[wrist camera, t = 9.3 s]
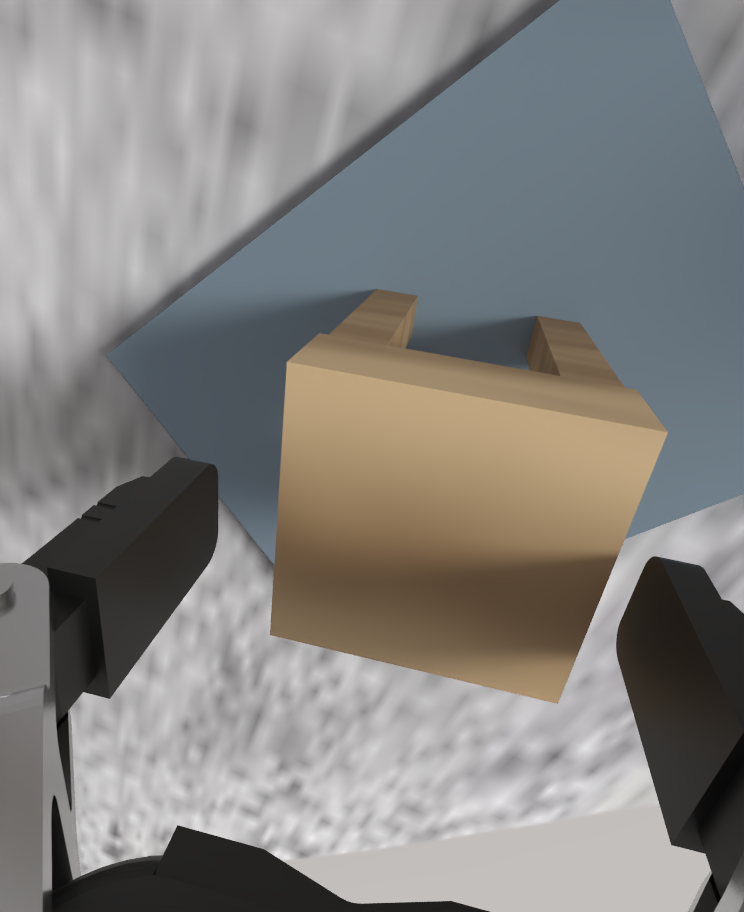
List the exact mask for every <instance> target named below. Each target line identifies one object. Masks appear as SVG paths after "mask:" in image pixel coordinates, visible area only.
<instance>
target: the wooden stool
mask: <svg viewBox="0 0 744 912" xmlns="http://www.w3.org/2000/svg"><path fill="white" fill-rule="evenodd" d="M417 299H418V296H417V295H411V294H405V293H399V292H393V291H387V290H381V289H377V290H376V291H375V292H373V293H372V294H371V295H370V296H369V297H368V298H367V299H366V300H365V301H364V302H363V303H362V304H361V305H360V306H359V307H358V308H357V309H355V310H354V311H353V312H352V313H351V314H350V315H349V316H348V317H347V318H346V319H345V320H344V321H343V322H342V323H341V324H340V325H338V326H337V327H336V328H335V329H334V330H333V331H332V332H331V333H330V334H329V335H327V334H321V333H319V334H318V335H317V336H316V337H315V338H313V339H312V340H311V341H310V342H309V343H308V344H307V345H306V346H304V347H303V348H302V349H301V350H300V351H299V352H298V353H296V354H295V355H294V356H293V357H292V358H291V359H290V360H288V361H287V369H286V385H285V401H284V417H283V434H282V450H281V466H280V482H279V499H278V515H277V531H276V547H275V564H274V580H273V596H272V612H271V629H270V635H273V636H277V637H281V638H285V639H290V640H294V641H298V642H302V643H306V644H310V645H315V646H319V647H323V648H327V649H331V650H336V651H340V652H344V653H348V654H352V655H356V656H361V657H365V658H369V659H373V660H377V661H382V662H386V663H390V664H394V665H398V666H402V667H407V668H411V669H415V670H419V671H423V672H427V673H432V674H436V675H440V676H444V677H448V678H453V679H457V680H461V681H465V682H469V683H473V684H478V685H482V686H486V687H490V688H494V689H499V690H503V691H507V692H511V693H515V694H519V695H524V696H528V697H532V698H536V699H540V700H545V701H549V702H553V703H557V704H558V702H559V699H560V697H561V694H562V692H563V689H564V687H565V684H566V682H567V680H568V677H569V675H570V672H571V670H572V667H573V665H574V662H575V660H576V657H577V655H578V652H579V650H580V648H581V645H582V643H583V640H584V638H585V635H586V633H587V630H588V628H589V625H590V623H591V621H592V618H593V616H594V613H595V611H596V608H597V606H598V603H599V601H600V598H601V596H602V594H603V591H604V589H605V586H606V584H607V581H608V579H609V576H610V574H611V571H612V569H613V567H614V564H615V562H616V559H617V557H618V554H619V552H620V549H621V547H622V544H623V542H624V540H625V537H626V535H627V532H628V530H629V527H630V525H631V522H632V520H633V517H634V515H635V512H636V510H637V508H638V505H639V503H640V500H641V498H642V495H643V493H644V490H645V488H646V485H647V483H648V481H649V478H650V476H651V473H652V471H653V468H654V466H655V463H656V461H657V458H658V456H659V454H660V451H661V449H662V446H663V444H664V441H665V439H666V436H667V434H668V432H667V430H666V429H665V427H664V426H663V425H662V423H661V422H660V421H659V419H658V418H657V417H656V415H655V414H654V413H653V411H652V410H651V408H650V407H649V406H648V404H647V403H646V402H645V400H644V399H643V398H642V396H641V395H640V394H639V392H638V391H637V390H636V389H630V388H625V387H624V386H623V384H622V383H621V381H620V380H619V378H618V377H617V375H616V374H615V372H614V371H613V370H612V368H611V367H610V365H609V364H608V362H607V361H606V359H605V358H604V356H603V355H602V354H601V352H600V351H599V349H598V348H597V346H596V345H595V343H594V342H593V341H592V339H591V338H590V336H589V335H588V333H587V332H586V330H585V329H584V327H583V326H582V325H581V323H578V322H572V321H566V320H560V319H554V318H548V317H542V316H537V318H536V322H535V326H534V329H533V333H532V337H531V341H530V345H529V349H528V352H527V356H526V358H527V362H528V366H529V370H530V371H529V370H523V369H518V368H512V367H507V366H501V365H495V364H490V363H484V362H478V361H473V360H467V359H462V358H456V357H450V356H445V355H439V354H434V353H428V352H422V351H417V350H411V349H406V346H407V344H408V342H409V340H410V338H411V336H412V330H413V324H414V318H415V311H416V305H417Z"/></svg>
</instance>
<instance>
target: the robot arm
mask: <svg viewBox="0 0 744 912" xmlns="http://www.w3.org/2000/svg"><path fill="white" fill-rule="evenodd" d="M217 537H218V471H217V468H216V466H215V465H213V464H209V463H204V462H199V461H194V460H189V459H185V458H180V457H174V458H172V459H171V460H170V461H169V462H167V463H166V464H165V465H164V466H163V467H162V468H160V469H159V470H158V471H157V472H156V473H155V474H154V475H152V476H151V477H150V478H149V477H144V476H142V477H140V478H137V479H135V480H132V481H130V482H127V483H125V484H123V485H120V486H118V487H116V488H115V489H113V490H112V491H111V492H110V493H108V494H107V495H106V496H105V497H103V498H102V499H101V500H100V501H99V502H98V504H97V506H95V505H94V506H92V507H91V508H90V509H89V510H87V511H86V512H85V513H84V514H83V515H82V518H81V519H79V518H78V519H76V520H75V521H74V522H73V523H71V524H70V525H69V526H68V527H67V528H65V529H64V530H63V531H62V532H60V533H59V534H58V535H57V536H55V537H54V538H53V539H52V540H51V541H49V542H48V543H47V544H46V545H44V546H43V547H42V548H41V549H39V550H38V551H37V552H36V553H35V554H33V555H32V556H31V557H30V558H28V559H27V560H26V561H25V562H23V563H22V564H18V563H1V564H0V912H489V911H485V910H481V909H478V908H474V907H470V906H467V905H463V904H460V903H456V902H452V901H442V902H408V903H407V902H406V903H373V904H357V903H351V902H348V901H346V900H344V899H342V898H340V897H338V896H337V895H335V894H334V893H332V892H331V891H329V890H327V889H326V888H324V887H323V886H321V885H319V884H318V883H316V882H315V881H313V880H312V879H310V878H308V877H307V876H305V875H303V874H302V873H300V872H299V871H297V870H296V869H294V868H293V867H291V866H289V865H287V864H286V863H285V862H283V861H281V860H280V859H278V858H277V857H275V856H274V855H272V854H270V853H269V852H267V851H266V850H264V849H261V848H257V847H254V846H250V845H247V844H243V843H239V842H236V841H232V840H228V839H225V838H221V837H218V836H214V835H210V834H207V833H203V832H200V831H196V830H192V829H189V828H185V827H181V826H178V825H177V828H176V830H175V832H174V834H173V836H172V838H171V840H170V842H169V844H168V846H167V848H166V850H165V853H164V855H161V856H148V857H142V858H136V859H129V860H125V861H122V862H118V863H115V864H111V865H108V866H105V867H102V868H99V869H97V870H94V871H92V872H90V873H87V874H85V875H82V876H81V871H80V861H79V853H78V843H77V832H76V813H75V791H74V769H73V747H72V725H71V715H70V708H71V706H72V705H73V704H74V703H75V701H76V700H77V699H78V698H79V696H80V695H81V694H82V693H83V692H85V693H89V694H93V695H97V696H101V697H105V698H109V699H110V698H111V696H112V695H113V694H114V692H115V691H116V690H117V688H118V687H119V685H120V684H121V683H122V681H123V680H124V679H125V677H126V676H127V675H128V673H129V672H130V670H131V669H132V668H133V666H134V665H135V664H136V662H137V661H138V660H139V658H140V657H141V655H142V654H143V653H144V651H145V650H146V649H147V647H148V646H149V645H150V643H151V642H152V640H153V639H154V638H155V636H156V635H157V634H158V632H159V631H160V629H161V628H162V627H163V625H164V624H165V623H166V621H167V620H168V619H169V617H170V616H171V614H172V613H173V612H174V610H175V609H176V608H177V606H178V605H179V604H180V602H181V601H182V599H183V598H184V597H185V595H186V594H187V593H188V591H189V590H190V589H191V587H192V586H193V584H194V583H195V582H196V580H197V579H198V578H199V576H200V575H201V574H202V572H203V571H204V569H205V568H206V567H207V565H208V564H209V562H210V560H211V558H212V556H213V553H214V550H215V547H216V543H217ZM616 649H617V657H618V661H619V665H620V668H621V672H622V675H623V679H624V682H625V686H626V689H627V693H628V696H629V700H630V703H631V706H632V710H633V713H634V717H635V720H636V724H637V727H638V731H639V734H640V738H641V741H642V745H643V748H644V752H645V755H646V759H647V762H648V766H649V769H650V773H651V776H652V779H653V783H654V786H655V790H656V793H657V797H658V800H659V804H660V807H661V811H662V814H663V818H664V821H665V825H666V828H667V832H668V835H669V839H670V842H671V845H674V846H678V847H682V848H686V849H689V850H694V851H697V852H701V853H705V854H706V856H707V859H708V862H709V865H710V868H711V872H710V873H709V874H708V876H707V877H706V878H705V880H704V881H703V883H702V884H701V886H700V889H699V890H698V892H697V894H696V897H695V899H694V901H693V903H692V905H691V907H690V909H689V911H688V912H744V614H743V613H742V612H741V611H740V610H739V609H738V608H737V607H736V606H735V605H734V604H732V603H731V602H730V601H727V600H722V599H721V597H720V595H719V594H718V592H717V590H716V588H715V587H714V585H713V583H712V582H711V580H710V578H709V576H708V575H707V573H706V571H705V570H704V568H702V567H701V566H699V565H695V564H690V563H685V562H680V561H675V560H670V559H665V558H661V557H652V558H650V559H649V560H648V562H647V563H646V565H645V567H644V569H643V571H642V573H641V576H640V578H639V580H638V582H637V585H636V587H635V589H634V592H633V594H632V596H631V599H630V601H629V603H628V605H627V608H626V610H625V612H624V615H623V617H622V619H621V622H620V625H619V628H618V633H617V642H616Z"/></svg>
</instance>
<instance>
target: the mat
mask: <svg viewBox="0 0 744 912" xmlns="http://www.w3.org/2000/svg"><path fill="white" fill-rule="evenodd" d="M377 289H381V290H387V291H393V292H399V293H405V294H411V295H417V296H418V299H417V305H416V311H415V318H414V324H413V330H412V336H411V338H410V340H409V342H408V344H407V346H406V349H411V350H417V351H422V352H428V353H434V354H439V355H445V356H450V357H456V358H462V359H467V360H473V361H478V362H484V363H490V364H495V365H501V366H507V367H512V368H518V369H523V370H529V366H528V362H527V358H526V356H527V352H528V349H529V345H530V341H531V337H532V333H533V329H534V326H535V322H536V318H537V316H542V317H548V318H554V319H560V320H566V321H572V322H578V323H581V325H582V326H583V327H584V329H585V330H586V332H587V333H588V335H589V336H590V338H591V339H592V341H593V342H594V343H595V345H596V346H597V348H598V349H599V351H600V352H601V354H602V355H603V356H604V358H605V359H606V361H607V362H608V364H609V365H610V367H611V368H612V370H613V371H614V372H615V374H616V375H617V377H618V378H619V380H620V381H621V383H622V384H623V386H624V387H625V388H630V389H636V390H637V391H638V392H639V394H640V395H641V396H642V398H643V399H644V400H645V402H646V403H647V404H648V406H649V407H650V408H651V410H652V411H653V413H654V414H655V415H656V417H657V418H658V419H659V421H660V422H661V423H662V425H663V426H664V427H665V429H666V430H667V432H668V434H667V436H666V439H665V441H664V444H663V446H662V449H661V451H660V454H659V456H658V458H657V461H656V463H655V466H654V468H653V471H652V473H651V476H650V478H649V481H648V483H647V485H646V488H645V490H644V493H643V495H642V498H641V500H640V503H639V505H638V508H637V510H636V512H635V515H634V517H633V520H632V522H631V525H630V527H629V530H628V532H627V535H626V537H625V539H626V538H629V537H632V536H634V535H637V534H639V533H642V532H645V531H647V530H650V529H653V528H655V527H658V526H660V525H663V524H666V523H668V522H671V521H673V520H676V519H679V518H681V517H684V516H687V515H689V514H692V513H694V512H697V511H700V510H702V509H705V508H708V507H710V506H713V505H715V504H718V503H721V502H723V501H726V500H729V499H731V498H734V497H736V496H739V495H742V494H744V187H743V185H742V182H741V179H740V177H739V174H738V172H737V169H736V167H735V164H734V162H733V159H732V157H731V154H730V152H729V149H728V147H727V144H726V141H725V139H724V136H723V134H722V131H721V129H720V126H719V124H718V121H717V119H716V116H715V114H714V111H713V108H712V106H711V103H710V101H709V98H708V96H707V93H706V91H705V88H704V86H703V83H702V81H701V78H700V75H699V73H698V70H697V68H696V65H695V63H694V60H693V58H692V55H691V53H690V50H689V48H688V45H687V42H686V40H685V37H684V35H683V32H682V30H681V27H680V25H679V22H678V20H677V17H676V15H675V12H674V10H673V7H672V4H671V2H670V0H559V1H558V2H557V3H556V4H554V5H553V6H552V7H550V8H549V9H548V10H547V11H545V12H544V13H543V14H541V15H540V16H539V17H538V18H536V19H535V20H534V21H533V22H531V23H530V24H529V25H527V26H526V27H525V28H524V29H522V30H521V31H520V32H518V33H517V34H516V35H515V36H513V37H512V38H511V39H510V40H508V41H507V42H506V43H504V44H503V45H502V46H501V47H499V48H498V49H497V50H496V51H494V52H493V53H492V54H490V55H489V56H488V57H487V58H485V59H484V60H483V61H481V62H480V63H479V64H478V65H476V66H475V67H474V68H473V69H471V70H470V71H469V72H467V73H466V74H465V75H464V76H462V77H461V78H460V79H458V80H457V81H456V82H455V83H453V84H452V85H451V86H450V87H448V88H447V89H446V90H444V91H443V92H442V93H441V94H439V95H438V96H437V97H435V98H434V99H433V100H432V101H430V102H429V103H428V104H427V105H425V106H424V107H423V108H421V109H420V110H419V111H418V112H416V113H415V114H414V115H412V116H411V117H410V118H409V119H407V120H406V121H405V122H404V123H402V124H401V125H400V126H398V127H397V128H396V129H395V130H393V131H392V132H391V133H389V134H388V135H387V136H386V137H384V138H383V139H382V140H381V141H379V142H378V143H377V144H375V145H374V146H373V147H372V148H370V149H369V150H368V151H367V152H365V153H364V154H363V155H361V156H360V157H359V158H358V159H356V160H355V161H354V162H352V163H351V164H350V165H349V166H347V167H346V168H345V169H344V170H342V171H341V172H340V173H338V174H337V175H336V176H335V177H333V178H332V179H331V180H329V181H328V182H327V183H326V184H324V185H323V186H322V187H321V188H319V189H318V190H317V191H315V192H314V193H313V194H312V195H310V196H309V197H308V198H306V199H305V200H304V201H303V202H301V203H300V204H299V205H298V206H296V207H295V208H294V209H292V210H291V211H290V212H289V213H287V214H286V215H285V216H283V217H282V218H281V219H280V220H278V221H277V222H276V223H275V224H273V225H272V226H271V227H269V228H268V229H267V230H266V231H264V232H263V233H262V234H260V235H259V236H258V237H257V238H255V239H254V240H253V241H252V242H250V243H249V244H248V245H246V246H245V247H244V248H243V249H241V250H240V251H239V252H238V253H236V254H235V255H234V256H232V257H231V258H230V259H229V260H227V261H226V262H225V263H223V264H222V265H221V266H220V267H218V268H217V269H216V270H215V271H213V272H212V273H211V274H209V275H208V276H207V277H206V278H204V279H203V280H202V281H200V282H199V283H198V284H197V285H195V286H194V287H193V288H192V289H190V290H189V291H188V292H186V293H185V294H184V295H183V296H181V297H180V298H179V299H177V300H176V301H175V302H174V303H172V304H171V305H170V306H169V307H167V308H166V309H165V310H163V311H162V312H161V313H160V314H158V315H157V316H156V317H154V318H153V319H152V320H151V321H149V322H148V323H147V324H146V325H144V326H143V327H142V328H140V329H139V330H138V331H137V332H135V333H134V334H133V335H131V336H130V337H129V338H128V339H126V340H125V341H124V342H123V343H121V344H120V345H119V346H117V347H116V348H115V349H114V350H112V351H111V352H110V353H109V354H107V355H106V356H107V357H108V358H109V360H110V361H111V362H112V363H113V365H114V366H115V367H116V368H117V370H118V371H119V372H120V373H121V375H122V376H123V377H124V378H125V380H126V381H127V382H128V383H129V385H130V386H131V387H132V388H133V390H134V391H135V392H136V393H137V395H138V396H139V397H140V398H141V400H142V401H143V402H144V403H145V405H146V406H147V407H148V408H149V410H150V411H151V412H152V413H153V415H154V416H155V417H156V418H157V420H158V421H159V422H160V423H161V425H162V426H163V427H164V428H165V430H166V431H167V432H168V433H169V435H170V436H171V437H172V438H173V440H174V441H175V442H176V443H177V445H178V446H179V447H180V448H181V450H182V451H183V452H184V453H185V455H186V456H187V457H188V458H189V460H194V461H199V462H204V463H209V464H213V465H215V466H216V468H217V471H218V496H219V497H220V498H221V500H222V501H223V502H224V503H225V505H226V506H227V507H228V508H229V510H230V511H231V512H232V513H233V515H234V516H235V517H236V518H237V520H238V521H239V522H240V523H241V525H242V526H243V527H244V528H245V530H246V531H247V532H248V533H249V535H250V536H251V537H252V538H253V540H254V541H255V542H256V543H257V545H258V546H259V547H260V548H261V550H262V551H263V552H264V553H265V555H266V556H267V557H268V558H269V560H270V561H271V562H272V563H273V565H274V564H275V547H276V531H277V515H278V499H279V482H280V466H281V450H282V434H283V417H284V401H285V385H286V369H287V361H288V360H290V359H291V358H292V357H293V356H294V355H295V354H296V353H298V352H299V351H300V350H301V349H302V348H303V347H304V346H306V345H307V344H308V343H309V342H310V341H311V340H312V339H313V338H315V337H316V336H317V335H318V334H319V333H321V334H327V335H329V334H330V333H331V332H332V331H333V330H334V329H335V328H336V327H337V326H338V325H340V324H341V323H342V322H343V321H344V320H345V319H346V318H347V317H348V316H349V315H350V314H351V313H352V312H353V311H354V310H355V309H357V308H358V307H359V306H360V305H361V304H362V303H363V302H364V301H365V300H366V299H367V298H368V297H369V296H370V295H371V294H372V293H373V292H375V291H376V290H377ZM529 371H530V370H529Z"/></svg>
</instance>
